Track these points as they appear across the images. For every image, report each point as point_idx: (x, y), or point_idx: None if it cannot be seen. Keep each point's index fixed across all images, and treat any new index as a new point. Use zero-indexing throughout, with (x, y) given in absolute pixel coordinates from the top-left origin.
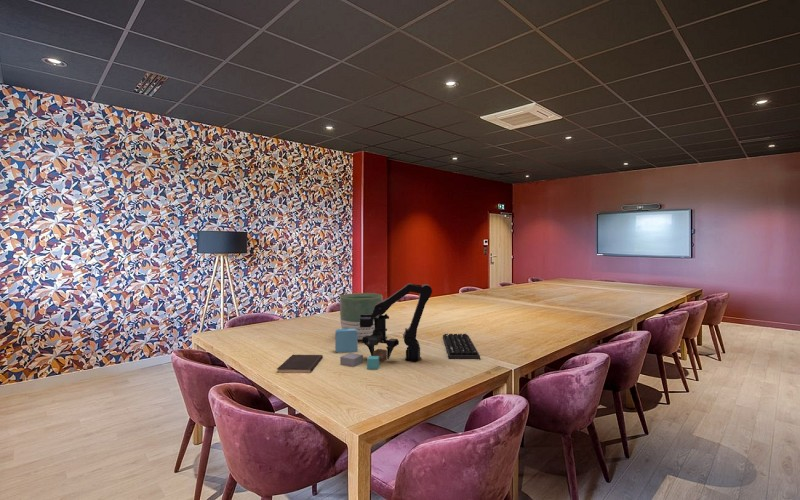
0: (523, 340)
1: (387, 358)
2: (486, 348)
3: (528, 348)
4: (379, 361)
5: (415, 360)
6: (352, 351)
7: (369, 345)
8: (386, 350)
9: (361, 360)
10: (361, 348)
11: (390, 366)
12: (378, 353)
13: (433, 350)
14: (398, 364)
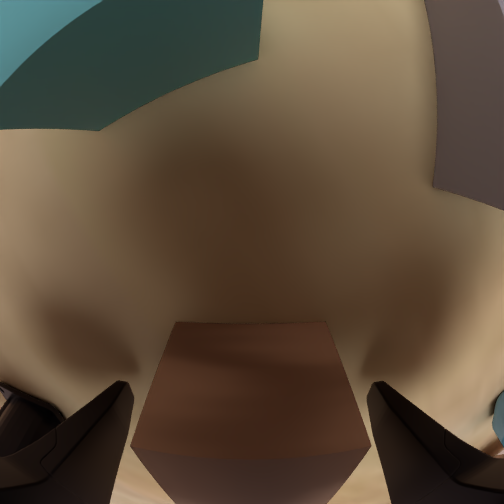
0: None
1: (120, 385)
2: None
3: None
4: (219, 324)
5: (5, 392)
6: None
7: (487, 494)
8: (176, 498)
9: (461, 147)
10: (464, 441)
11: (6, 207)
12: (229, 427)
13: (111, 499)
14: (6, 303)
